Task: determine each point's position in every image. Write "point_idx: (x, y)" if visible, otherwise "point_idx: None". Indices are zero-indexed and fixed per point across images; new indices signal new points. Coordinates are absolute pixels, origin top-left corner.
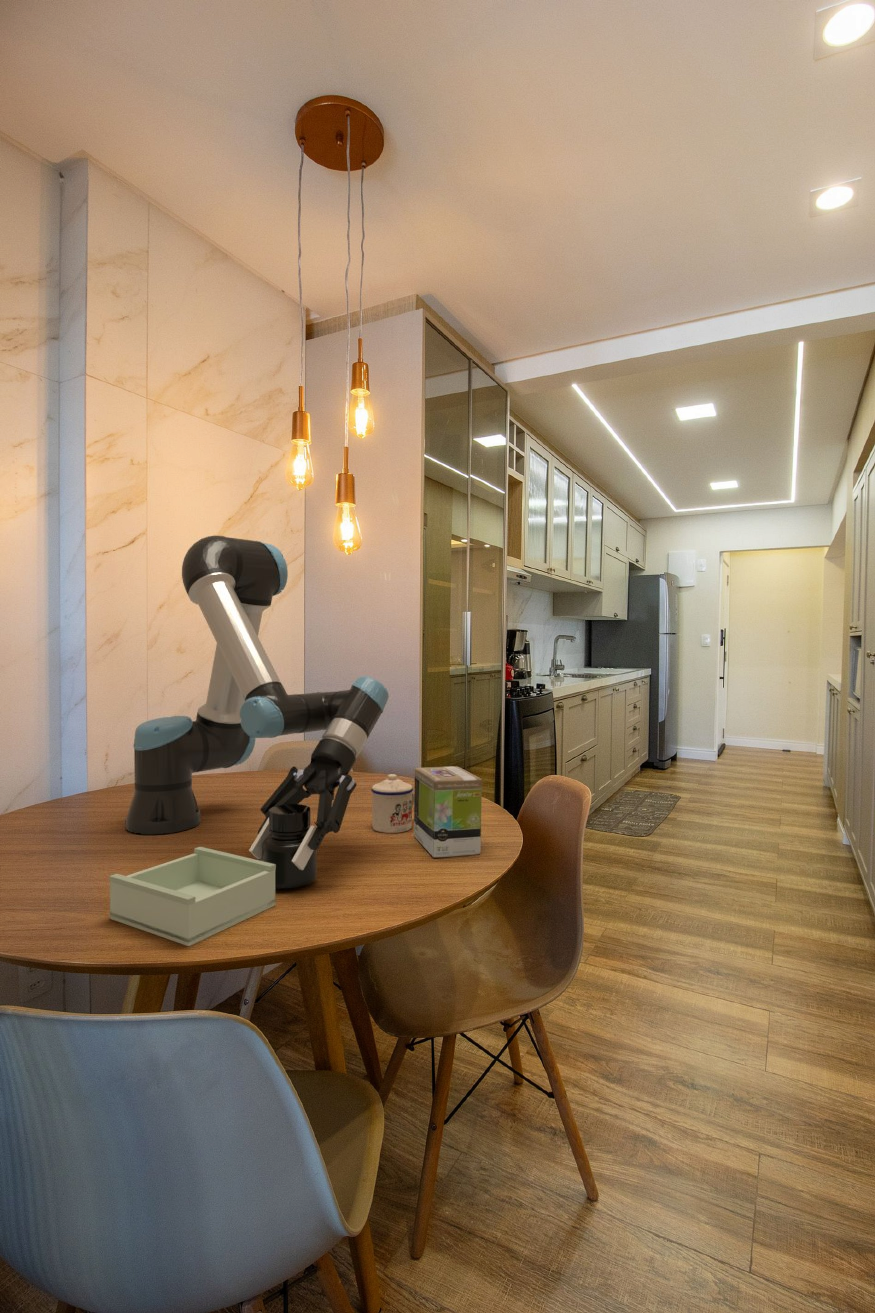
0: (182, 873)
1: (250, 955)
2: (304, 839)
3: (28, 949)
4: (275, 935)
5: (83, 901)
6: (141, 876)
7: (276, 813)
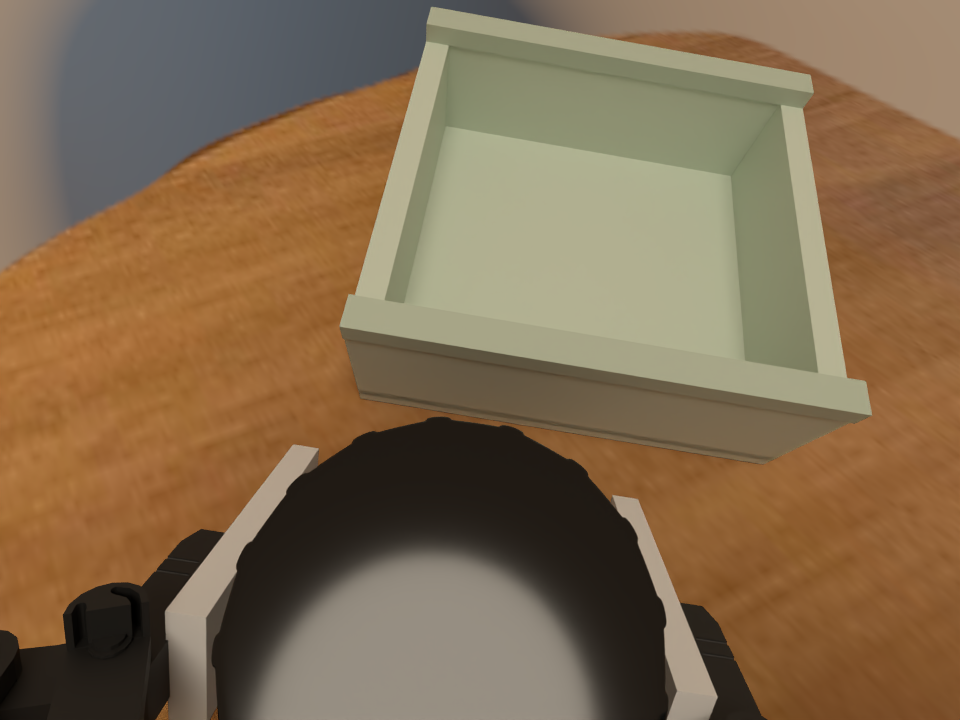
0: (775, 336)
1: (252, 129)
2: (252, 527)
3: (732, 47)
4: (242, 225)
5: (916, 237)
6: (782, 167)
7: (472, 426)
